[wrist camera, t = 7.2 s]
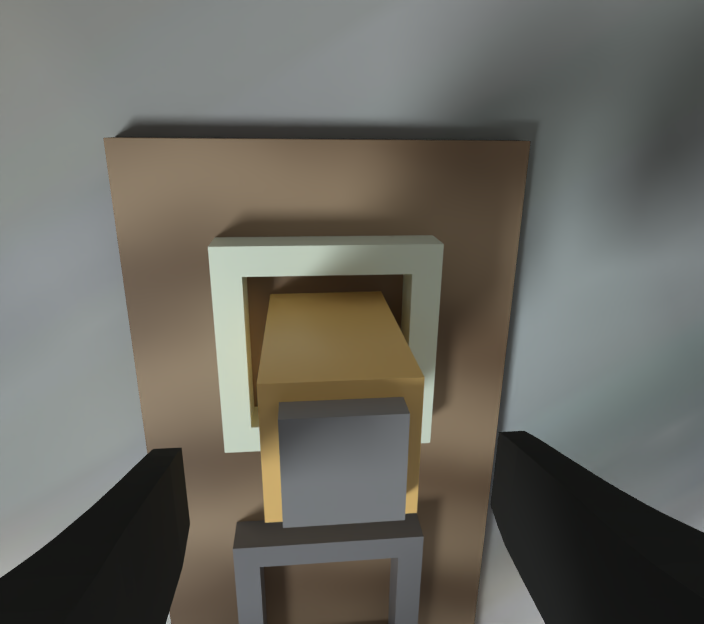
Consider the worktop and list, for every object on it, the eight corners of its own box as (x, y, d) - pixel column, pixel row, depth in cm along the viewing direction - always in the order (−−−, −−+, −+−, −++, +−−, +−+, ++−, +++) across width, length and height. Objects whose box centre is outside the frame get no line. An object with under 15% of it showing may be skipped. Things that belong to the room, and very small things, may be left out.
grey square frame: (407, 640, 25) (414, 671, 24) (247, 654, 25) (244, 686, 23) (416, 510, 23) (423, 536, 21) (236, 521, 22) (232, 548, 21)
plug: (378, 389, 21) (423, 534, 13) (275, 393, 20) (262, 545, 13) (381, 291, 19) (432, 393, 12) (270, 294, 19) (253, 400, 12)
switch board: (461, 663, 28) (467, 681, 27) (187, 687, 26) (183, 708, 25) (518, 140, 19) (530, 141, 18) (113, 137, 18) (103, 138, 17)
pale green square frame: (421, 421, 21) (430, 442, 20) (229, 430, 21) (224, 452, 19) (433, 235, 19) (443, 244, 17) (214, 237, 18) (207, 246, 17)
